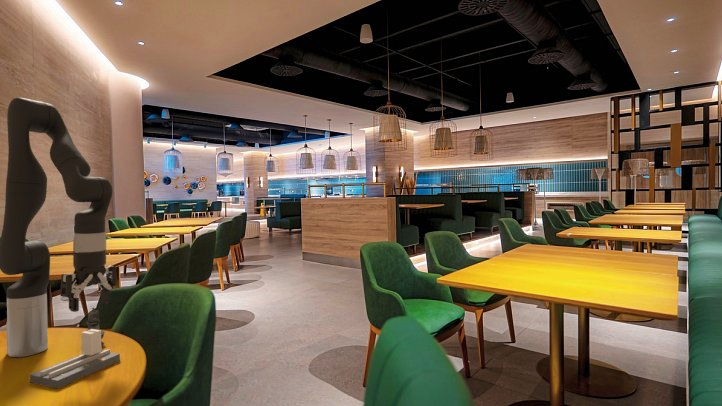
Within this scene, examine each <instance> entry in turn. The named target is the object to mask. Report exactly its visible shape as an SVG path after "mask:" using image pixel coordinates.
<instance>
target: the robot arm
mask: <svg viewBox="0 0 722 406" xmlns="http://www.w3.org/2000/svg"><path fill="white" fill-rule="evenodd" d="M6 116H7V117H6V118H7V121H6V122H7V123H6V124H7V126H6V127H7V145H8V147H7V148H8V149H7V152H8V154H7V171H6V180H5V181H6V182H5V204H4V215H3V223H2V224H3V225H2V230H1V235H0V271H1V272H2V273H3V274H4V275H8V276H16V275H21V274H22V276H21V277H20V278H19V279H18V280H17V281H16V282H15V283H12V285H10V286H8V287H7V288H6V309H7V310H6V317H7V318H6V319H7V321H6V323H5V326H6V327H5V328H6V329H5V330H6V354H7V356H8V357H10V358H21V357H23V358H24V357H29V356H33V355H36V354H40V353H43V352H44V351H46V350H48V347H49V341H48V337H49V335H48V333H49V332H48V328H49V327H48V294H47V293H48V290H47V288H48V285H49V283H50V273H51V253H50V249H49V247H48V246H47V244H46V243H44V242H43V241H41V240H29V241H26V238H27V232H28V229H29V226H30V224H31V222H32V221H33V219H34V218H35V217H36V215H37V214H38V213H39V211H40V210H41V208H42V207H43V205H44V204H45V202H46V199H47V188H48V176H47V174H46V172H45V169H44V168H43V166H42V165H41V163H40V162H39V160H38V158H37V157H36V155H35V154H34V152H33V150H32V148H31V141H30V132H31V133H39V134H45V135H47V136H48V137H49V138H50V139H51V140H52V142H51V146H50V149H49V156H50V161H51V162H52V163H53V165H54V166H55V168H56V169H57V171H58V172H59V174H60V175H61V178H62V181H63V186H64V190H65V193H66V195H67V197H68V198H69V199H70V200H71V201H74V202H76V203H90V204H89V207H88V208H87V209H85V210H81V211H78V212H77V213H75V214H74V225H73V226H74V227H73V228H74V235H73V240H72V241H73V243H72V244H73V246H72V249H73V252H72V256H73V257H72V261H73V263H72V264H73V265H72V266H73V268H74V271H73V273H63V274H61V276H60V277H61V278H60V291H59V292H60V293H59V294H60V297H62V298H63V297H65V298H68V309H69V310H70V312H73V313H77V312H79V310H80V302H79V301H80V298H79V295H80V294H81V292H82V291H84V290H85V289H86V287H92V286H96V285H98V286H99V288H100V303H101V304H108V303H109V301H110V299H111V298H110V296H111V295H110V294H111V293H110V290H111V289H112V288H113V287H116V286H117V283H118V282H117V269H116V268H117V267H116V265H109V264H108V265H106V264H107V238H106V237H107V236H106V216H107V213H108V209H109V207H110V203H111V200H112V196H113V193H114V192H113V186H112V183H111V182H110V180H109V179H107V178H106V177H102V176H89V175H90V173H91V170H92V169H91V166H90V165H89V162H88V161H87V160H86V159H85V157H84V156H83V155H82V153H81V152H80V150H78V148H77V147H76V145H75V143H74V142H73V139H72V137H71V135H70V132H69V130H68V128H67V126H66V123H65V122H64V119H63V117H62V115H61V113H60V112H59V110H58V109H57V107H56V106H55V105H53V104H51V103H48V102H44V101H41V100H39V101H38V100H34V99H31V98H30V99H29V98H25V97H20V96H19V97H15V98H13V99H11V101H10V102H9V104H8V108H7V115H6ZM105 265H106V266H105ZM74 280H75V281H74Z"/></svg>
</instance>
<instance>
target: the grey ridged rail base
mask: <svg viewBox="0 0 722 406" xmlns="http://www.w3.org/2000/svg"><path fill="white" fill-rule="evenodd" d="M120 355H121V354H120V353H116V352H113V351H111V349H110V348H109V349H105V350H103V348H102V347H101V352H99V353H97V354H95V355H93V356H90V357H88V358H84V354H82V353H81V354H78V355H76V356H74V357H71V358H68V359H66V360H63V361H61V362H58V363H55V364H54V365H51V366H48V367H46V368H44V369H41V370H38V371H35V372H33V373H30V374H29V383H30V384H37V385H39V386H44V387H49V388H54V389H58V390H59V389H60V388H62V387H65V386H66V385H68V384H72V383H73V381H74V382H75V380H76V381H78V380H80V379H82V378H84V376H85V377H87V376H88V375H92V374H93V373H97V372H98V371H100V370H103V369H105V368H106V367H109V366H111V365H113V364H116V363H118V362H119V361H121V356H120ZM86 375H87V376H86ZM81 377H82V378H81ZM79 378H80V379H79ZM77 379H78V380H77Z"/></svg>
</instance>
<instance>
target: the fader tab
mask: <svg viewBox="0 0 722 406" xmlns="http://www.w3.org/2000/svg"><path fill="white" fill-rule="evenodd" d="M101 331H102V330H101V329H100V330H96V329H90V330H88V329H86V330H84V331H82V332H81V334H80V335H81V336H80V337H81V338H80V339H81V354H84V358H88V357H90V356H93V355H95V354H97V353H99V352H101V348H102V346H101V341H102V340H101Z"/></svg>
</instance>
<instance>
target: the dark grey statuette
mask: <svg viewBox="0 0 722 406" xmlns="http://www.w3.org/2000/svg"><path fill="white" fill-rule="evenodd" d="M99 315H100V312H99V311H98V310H96V309H95V307H92V308H91V310H90V311H89V312H88V313H87V322H86V324H87V330H90V329H96V330H101V328H100V322H101V320H100V316H99ZM105 334H106V332H105V331H104V330H101V347H102V346H103V345H104V344H105V342H103V341H102V339H103V338H104V336H105Z"/></svg>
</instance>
